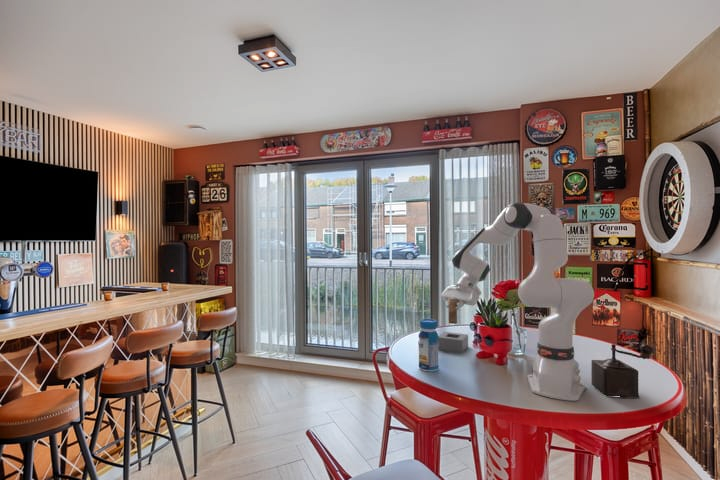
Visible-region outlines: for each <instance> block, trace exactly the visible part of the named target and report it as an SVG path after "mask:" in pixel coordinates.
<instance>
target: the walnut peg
mask: <svg viewBox="0 0 720 480" xmlns="http://www.w3.org/2000/svg"><path fill="white" fill-rule="evenodd" d="M456 305H458V303H457V298H449V308H448V324H452V325H453V324H455V325H457V324H458V310H455V308H454V307H455V306H456Z"/></svg>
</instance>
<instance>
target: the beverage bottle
mask: <svg viewBox="0 0 720 480" xmlns="http://www.w3.org/2000/svg"><path fill="white" fill-rule="evenodd" d="M419 322H420V323H419V325H420V326H419V327H420V329H421V330H420V331H419V333H418V339H419V340H418V341H417V342H418V368H419V369H420V370H421V371H424V372H429V373H431V372H436V371H437V370H439V369H440V368H439V367H440V366H439V350H438V346H439V342H438V338H439V337H438V336H439V333H438V331H437V328H438V327H437V325H438V323H437V320H436V319H433V318H422V319H420V321H419Z"/></svg>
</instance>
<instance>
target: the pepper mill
mask: <svg viewBox="0 0 720 480" xmlns="http://www.w3.org/2000/svg"><path fill="white" fill-rule="evenodd" d="M616 347H617V346H616V344H615V343H611V348H610V350H611V352H612V353H611V358H606V359H591V383H590V384H591V386H592V385H593V386H594V387H595V388H594V387H593V386H592V387H593V388H594V389H596V390H597V389H598V390H599V391H600V392H599V391H598V390H597V391H598V392H599V393H601V392H602V393H603V394H604V395H606V396H620V397H639V398H640V395H639V394H640V393H639V370H637V369H636V368H634V367H632V366H631V365H628V364H627V363H625V362H623V361H621V360H620V359H617V358H616V352H617V353H619V354H624V355H627V356H628V355H629V356H630V357H631V356H632V357H635V358H637V359H643V360H646V359H647V360H651V355H652V354H654V353H655V348H654V346H652V345H651V344H647V343H643V344H642V343H641V344H640V346H639V349H640V351H641V353H640V354H635V353H633V352H629V351H624V350H618V349H616ZM602 393H601V394H602ZM603 394H602V395H603ZM604 395H603V396H604ZM606 396H605V397H606Z"/></svg>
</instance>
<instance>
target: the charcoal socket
mask: <svg viewBox="0 0 720 480" xmlns="http://www.w3.org/2000/svg"><path fill="white" fill-rule="evenodd" d="M438 337H439V338H438V342H439V346H438V351H445V352H453V353H459V354H463V353H464V352H465V351H466V350H467V348H468V347H469V334H466V333H457V332H450V331H449V332H448V331H444V332H442V333H441V334H440V335H439V334H438Z"/></svg>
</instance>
